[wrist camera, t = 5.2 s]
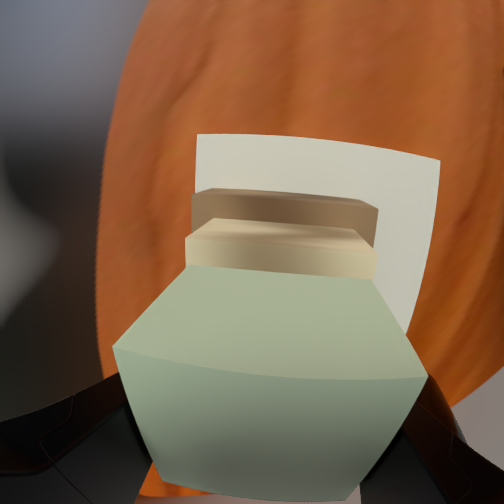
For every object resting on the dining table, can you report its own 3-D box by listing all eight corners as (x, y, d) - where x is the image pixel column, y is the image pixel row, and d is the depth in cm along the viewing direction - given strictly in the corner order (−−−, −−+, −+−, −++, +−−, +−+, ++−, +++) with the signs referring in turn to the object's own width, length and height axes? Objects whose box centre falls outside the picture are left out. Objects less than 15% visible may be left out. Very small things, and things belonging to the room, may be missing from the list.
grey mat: (437, 160, 13) (440, 160, 13) (401, 339, 17) (403, 342, 16) (198, 134, 15) (197, 134, 14) (198, 325, 18) (197, 328, 18)
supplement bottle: (446, 385, 18) (495, 490, 6) (389, 430, 20) (411, 536, 8) (408, 353, 17) (468, 489, 6) (342, 407, 19) (356, 540, 8)
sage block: (370, 279, 7) (428, 375, 3) (335, 405, 9) (344, 500, 5) (189, 264, 8) (112, 346, 4) (198, 392, 9) (162, 480, 5)
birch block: (354, 229, 11) (378, 254, 8) (332, 347, 13) (340, 396, 10) (213, 218, 12) (185, 238, 9) (213, 336, 14) (193, 381, 10)
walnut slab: (359, 199, 14) (378, 208, 11) (337, 328, 17) (346, 363, 13) (212, 187, 15) (191, 194, 12) (211, 317, 17) (196, 348, 14)
